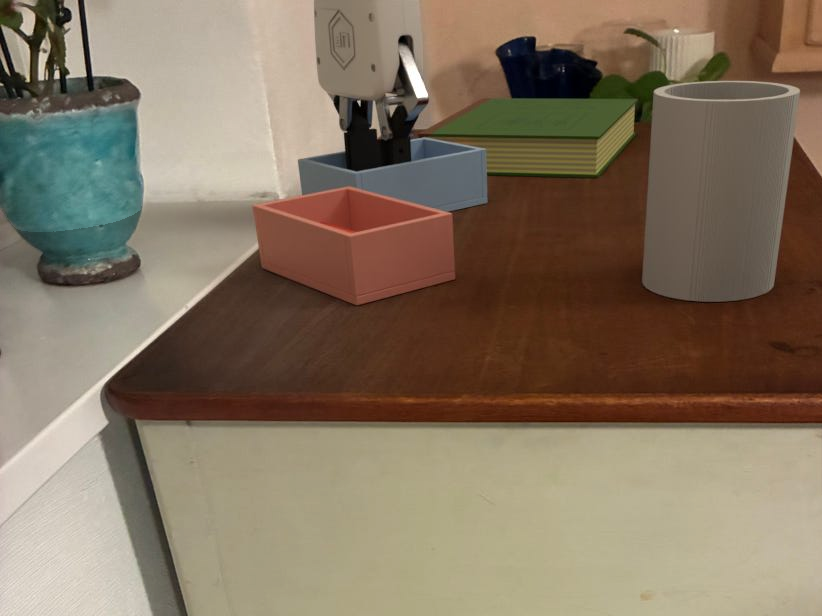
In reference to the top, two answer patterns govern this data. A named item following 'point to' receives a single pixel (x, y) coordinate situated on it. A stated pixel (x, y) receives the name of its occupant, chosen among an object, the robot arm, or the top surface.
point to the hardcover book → (542, 134)
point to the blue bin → (409, 175)
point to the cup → (717, 188)
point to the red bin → (356, 243)
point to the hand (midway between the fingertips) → (379, 181)
